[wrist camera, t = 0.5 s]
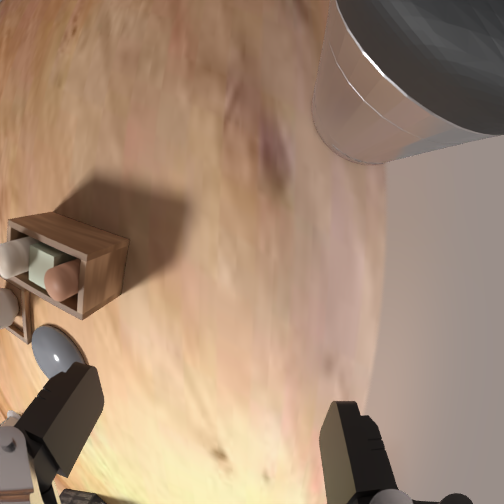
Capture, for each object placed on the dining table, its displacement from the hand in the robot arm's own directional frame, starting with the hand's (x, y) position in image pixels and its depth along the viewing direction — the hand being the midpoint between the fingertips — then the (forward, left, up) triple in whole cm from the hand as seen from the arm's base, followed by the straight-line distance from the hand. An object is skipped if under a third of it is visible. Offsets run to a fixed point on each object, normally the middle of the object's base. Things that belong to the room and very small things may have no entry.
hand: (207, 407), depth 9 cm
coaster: (+21, -22, -19) cm, 36 cm away
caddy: (+4, -19, -19) cm, 27 cm away
